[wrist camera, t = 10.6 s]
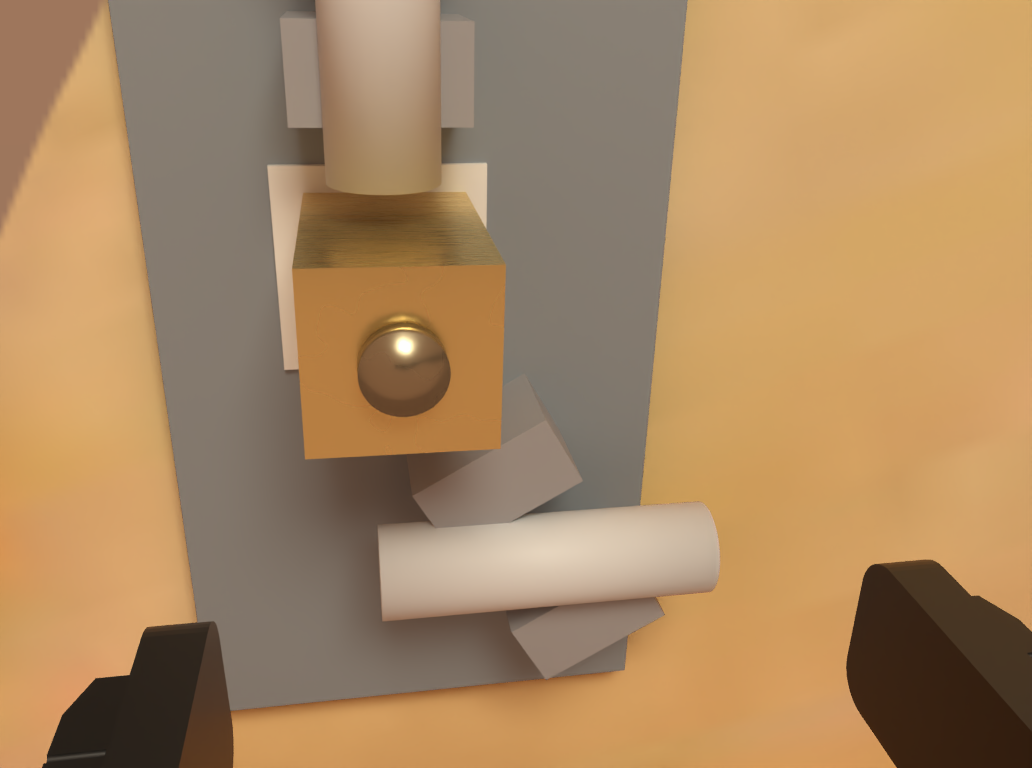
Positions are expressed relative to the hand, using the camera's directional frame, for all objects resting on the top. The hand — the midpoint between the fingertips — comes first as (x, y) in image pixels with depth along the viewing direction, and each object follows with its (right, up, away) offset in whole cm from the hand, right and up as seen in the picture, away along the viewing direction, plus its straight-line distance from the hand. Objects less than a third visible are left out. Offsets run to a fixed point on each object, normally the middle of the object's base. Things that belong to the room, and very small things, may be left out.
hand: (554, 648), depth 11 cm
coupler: (-4, +7, +15) cm, 17 cm away
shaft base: (-4, +6, +17) cm, 19 cm away
